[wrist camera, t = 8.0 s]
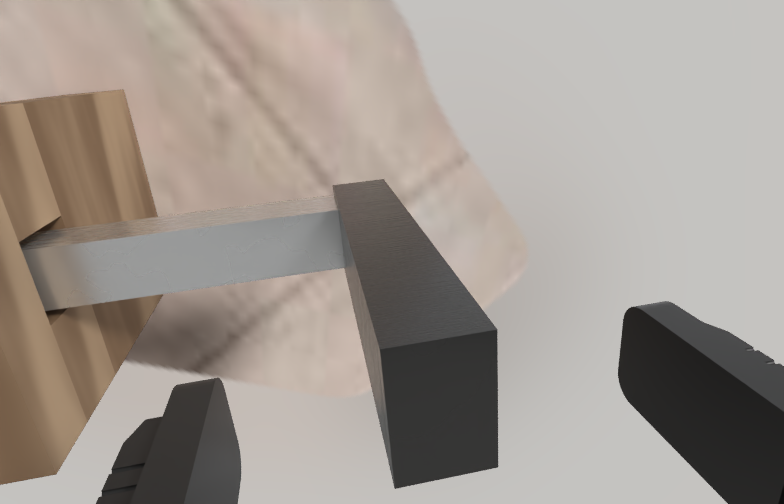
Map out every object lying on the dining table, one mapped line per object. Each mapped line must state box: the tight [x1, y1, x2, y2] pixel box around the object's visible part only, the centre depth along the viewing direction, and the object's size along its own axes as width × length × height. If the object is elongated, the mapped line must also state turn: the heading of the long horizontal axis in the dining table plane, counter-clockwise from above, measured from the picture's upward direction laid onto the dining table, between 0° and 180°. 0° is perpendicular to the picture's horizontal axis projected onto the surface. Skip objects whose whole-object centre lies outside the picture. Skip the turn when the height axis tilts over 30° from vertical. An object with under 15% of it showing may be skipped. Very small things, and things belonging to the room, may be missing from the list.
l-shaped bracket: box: [19, 179, 498, 489], centre depth 14 cm, size 14×3×12 cm, turn 95°
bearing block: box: [0, 90, 163, 485], centre depth 21 cm, size 3×11×16 cm, turn 5°
